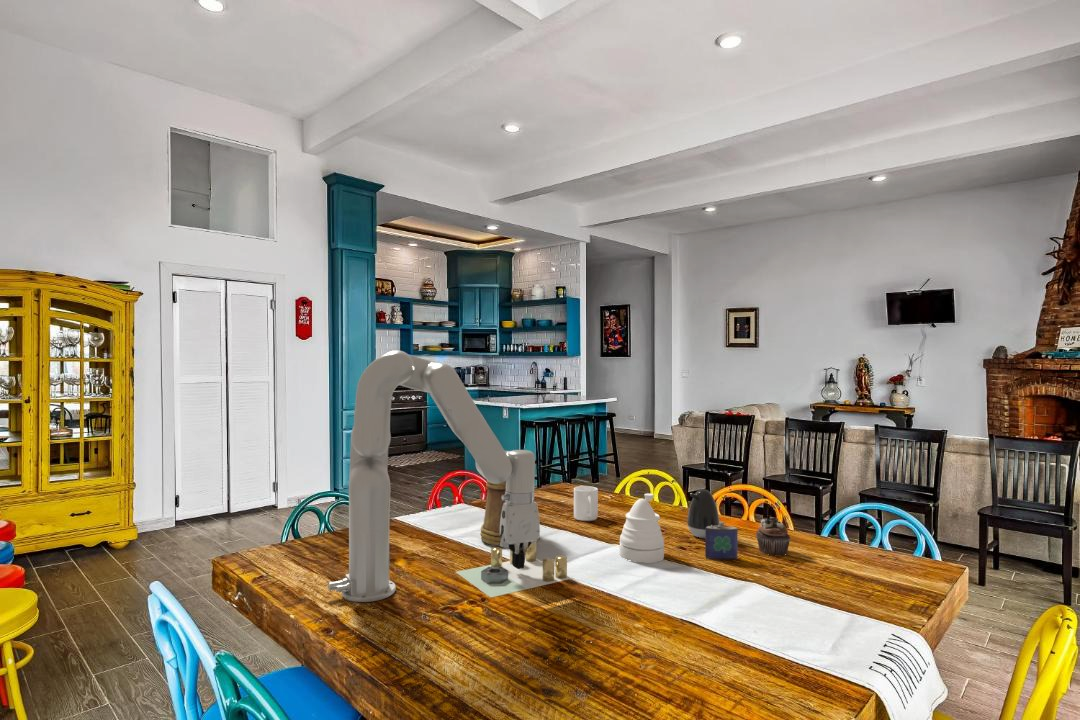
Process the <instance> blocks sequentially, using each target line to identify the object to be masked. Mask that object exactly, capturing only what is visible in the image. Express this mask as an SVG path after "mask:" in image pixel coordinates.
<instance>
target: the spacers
mask: <svg viewBox="0 0 1080 720" xmlns="http://www.w3.org/2000/svg"><path fill="white" fill-rule="evenodd" d="M525 558H526V561H528V562H534V561H536V559H537V542H535V543H533V544H531V545H530V546H529V547H528V549H527V552H526V553H525ZM509 561H510V564H511V565H513V564H512V551H511V550H510V549H509ZM502 562H503V547H501V546H500V547H499V546H495V547H494V546H493V547H491V548H490V565H491V567H502ZM542 562H543V576H542V580H543V581H546V582H551V581H554V568H555V577H556V578H559V579H564V578H566V577H567V575H568V557H567V556H566V555H556V556H555V559H553V558H549V557H546V558H543V559H542Z"/></svg>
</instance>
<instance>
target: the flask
mask: <svg viewBox="0 0 1080 720" xmlns="http://www.w3.org/2000/svg"><path fill="white" fill-rule="evenodd" d="M719 522H720V525H718V526H716V525H714V526H716V527H714V526H712V525H711V526H708V527H706V528H705V538H704V541H705V544H704V545H705V547H704V548H705V549H704V551H705V552H704V554H705V555H704V556H705V557H706V558H705V559H706V560H713V561H715V560H716V561H734V560H738V557H739V556H738V551H739V550H738V544H739V543H738V540H739V538H738V533H739V531H738V528H737V527H735V526H726V525H725V524H726V523H725V521H719Z"/></svg>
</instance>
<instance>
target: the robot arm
mask: <svg viewBox="0 0 1080 720" xmlns="http://www.w3.org/2000/svg"><path fill="white" fill-rule="evenodd" d="M398 386H401V387H405V388H408V389H412V390H415V391H419V392H424V393H428V394H429V395H430V397H431V398H432V400H433V401H434V404H435V405H436V406H437V409H438V410H439V412H440V413H441V415H442V416H443V418H444V420H445V421H446V423H447V425H448V427H449V428H450V429H451V431H452V432H453V433H454V435H455V436H456V437H457V438H458V439H459V440H460V441H461V442H462V443H463V445H464V446H465V447H466V449H467V450H468V451H469V453H470V454H471V456H472V457H473V459H474V460H475V468H476V470H477V472H478V473H479V475H481V476H482V477H483V478H484V479H486V482H487V481H489V482H490V483H493V484H501V483H504V482H505V481H506V491H505V495H502V500H505V501H506V503H504V504H503V507H502V512H501V519H500V539H501V542H500V548H502V549H503V548H505V549H509V551H510V550H511V551H512V564H513V566H514V567H515V568H517V569H520V568H524V563H525V558H526V552H527V549H528V547H529V546H530V545H531V544H533V543H535V542H536V543H537V542H538V539H539V538H540V534H541V533H540V531H541V530H540V529H541V527H540V515H539V508H538V503H537V501H535V473H536V471H535V470H536V469H535V467H536V465H535V464H536V456H535V454H534V452H533V451H532V450H527V449H513V450H505V449H504V448H503V446H502V444H501V442H500V441H499V439H498V438H497V436H496V434H495V433H494V432H493V430H492V429H491V427H490V425H489V424H488V422H487V420H486V419H485V418H484V415H483V414H482V413H481V411H480V409H479V408H478V406H477V405H476V403H475V401H474V400H473V397H472V396H471V394H470V393H469V392H468V390H467V388H466V386H465V385H464V383H463V381H462V379H461V377H459V375H458V373H457V372H456V370H455V369H454V367H452V366H451V365H450V364H447V363H443V362H435V361H433V360H428V359H425V358H421V357H418V356H415V355H411V354H408V353H407V352H405V351H403V350H397V349H396V350H391V351H388V352H385V353H384V354H382V355H381V356H378V358H376V359H375V360H373V361H372V362H370V363H369V365H367V367H365V369H364V370H363V372H362V374H361V376H360V377H359V380H358V382H357V386H356V390H355V391H356V392H355V393H356V394H355V402H354V403H355V405H354V413H353V414H354V417H353V426H352V429H351V433H350V451H349V453H350V454H349V475H348V476H349V477H348V478H349V479H348V573H346V574H345V575H344V576H345V578H342V579H341V580H338V581H337V580H336V581H331V582H330V581H329V582H328V585H327V586H328V591H329V592H331V591H336V592H337V593H339V592H342V593H341V595H342V598H344V599H345V600H346V601H349V602H353V603H356V602H357V603H369V602H371V603H372V602H377V601H381V600H385V599H386V598H389V597H390V596H392V595H393V594H394V593H395V592H396V589H397V588H396V584H395V582H393V581H392V580H390V509H391V507H390V505H391V502H390V501H391V480H390V475H389V473H388V467H389V465H388V464H389V463H388V462H389V458H388V457H389V447H390V444H391V441H392V440H391V438H392V435H391V411H392V410H391V409H392V398H393V394H394V392H395V390H396V388H397V387H398Z"/></svg>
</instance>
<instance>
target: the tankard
mask: <svg viewBox="0 0 1080 720" xmlns="http://www.w3.org/2000/svg"><path fill="white" fill-rule="evenodd" d="M486 488H487V493H486V494H487V495H486V503H485V509H484V518H483V524H482V525H481V527H480V539H481V541H482V542H483V543H486V544H489V545H493V546H498V547H499V546H500V542H501V539H500V519H501V512H502V507H503V504H504V503H506V501H505V500H502V495H505V491H506V481H505V482H504V483H501V484H493V483H490V482H489V481H487V480H486ZM500 547H501V546H500Z"/></svg>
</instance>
